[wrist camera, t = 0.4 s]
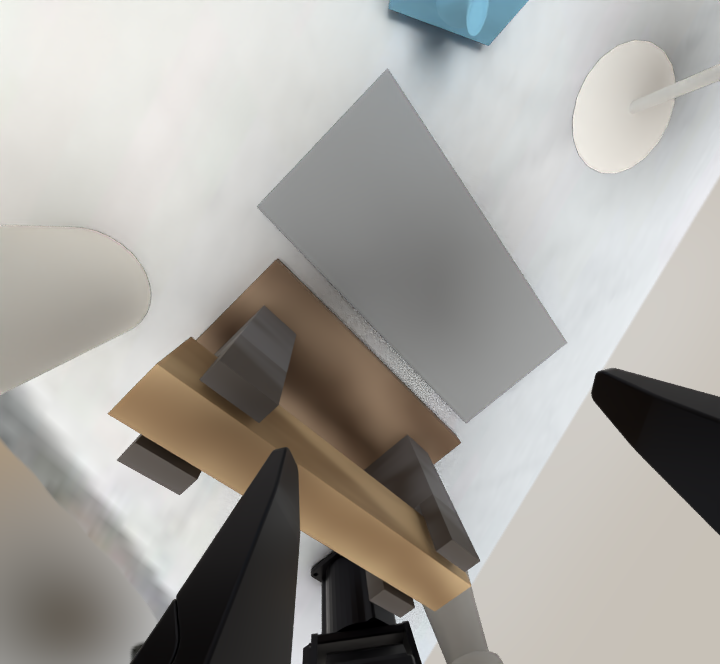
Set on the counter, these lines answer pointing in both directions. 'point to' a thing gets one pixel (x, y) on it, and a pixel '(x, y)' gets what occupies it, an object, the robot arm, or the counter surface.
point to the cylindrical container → (63, 297)
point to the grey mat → (414, 252)
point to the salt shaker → (461, 631)
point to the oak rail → (315, 467)
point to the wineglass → (628, 105)
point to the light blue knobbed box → (463, 15)
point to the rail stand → (324, 407)
